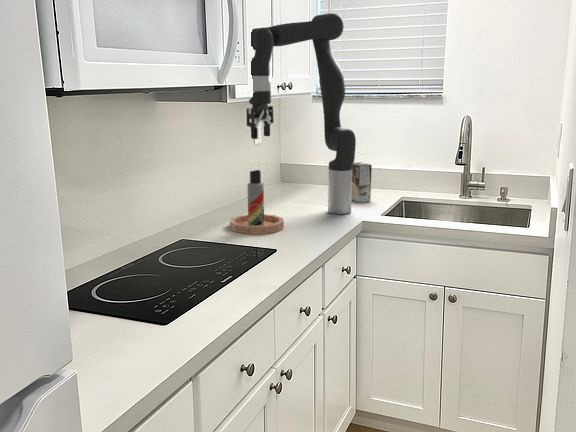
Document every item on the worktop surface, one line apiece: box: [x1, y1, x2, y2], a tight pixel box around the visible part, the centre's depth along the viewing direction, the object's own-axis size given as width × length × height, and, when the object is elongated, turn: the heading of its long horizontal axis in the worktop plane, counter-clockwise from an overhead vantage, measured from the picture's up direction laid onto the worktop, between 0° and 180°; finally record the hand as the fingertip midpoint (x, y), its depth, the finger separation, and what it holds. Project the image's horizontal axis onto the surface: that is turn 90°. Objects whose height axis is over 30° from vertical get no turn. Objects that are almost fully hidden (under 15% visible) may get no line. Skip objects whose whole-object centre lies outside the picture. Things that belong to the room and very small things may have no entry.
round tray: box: [229, 213, 285, 235], centre depth 206 cm, size 19×19×3 cm
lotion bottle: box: [246, 169, 265, 226], centre depth 204 cm, size 6×6×20 cm
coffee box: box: [351, 162, 373, 203], centre depth 250 cm, size 9×6×16 cm
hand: (260, 137), depth 199 cm, fingers open, 8 cm apart
